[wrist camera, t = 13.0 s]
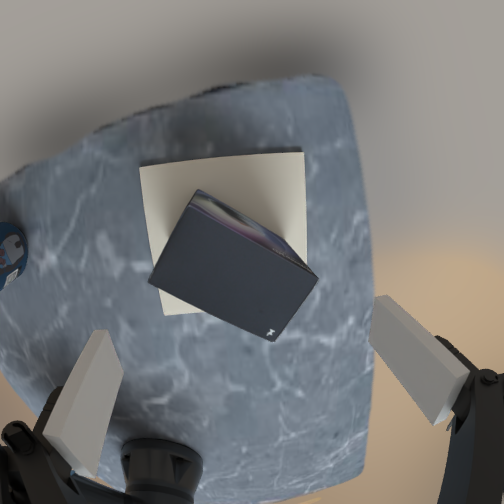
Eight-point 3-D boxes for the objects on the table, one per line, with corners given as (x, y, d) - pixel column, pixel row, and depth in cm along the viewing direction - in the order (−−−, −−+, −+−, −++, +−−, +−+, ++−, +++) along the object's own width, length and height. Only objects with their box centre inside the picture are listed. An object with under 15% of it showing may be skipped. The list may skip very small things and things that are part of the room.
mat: (165, 312, 31) (164, 315, 31) (140, 167, 26) (139, 167, 26) (305, 296, 33) (306, 299, 32) (302, 152, 28) (303, 152, 27)
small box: (289, 237, 30) (326, 278, 20) (255, 288, 31) (275, 347, 21) (198, 184, 27) (189, 200, 17) (166, 241, 28) (143, 286, 18)
